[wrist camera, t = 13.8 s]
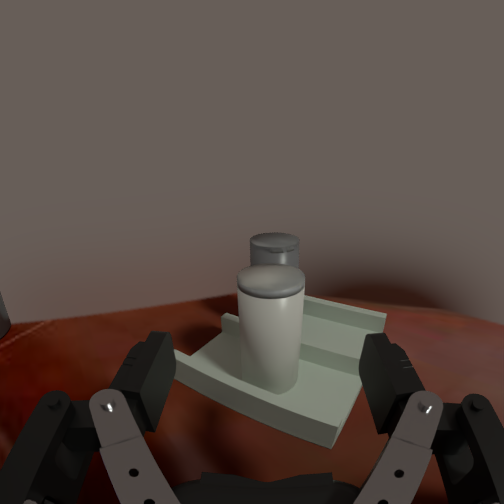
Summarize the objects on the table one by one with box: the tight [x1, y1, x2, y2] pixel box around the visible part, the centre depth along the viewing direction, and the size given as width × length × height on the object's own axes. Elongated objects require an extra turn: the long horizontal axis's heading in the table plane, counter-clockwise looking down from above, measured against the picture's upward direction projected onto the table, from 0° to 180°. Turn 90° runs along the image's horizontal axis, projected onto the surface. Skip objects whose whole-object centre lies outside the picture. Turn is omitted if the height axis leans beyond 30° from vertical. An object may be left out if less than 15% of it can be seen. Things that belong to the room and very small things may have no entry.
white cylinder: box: [237, 263, 305, 395], centre depth 24 cm, size 5×5×10 cm
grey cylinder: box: [250, 233, 299, 268], centre depth 32 cm, size 5×5×10 cm
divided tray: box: [174, 295, 387, 449], centre depth 29 cm, size 16×17×3 cm
